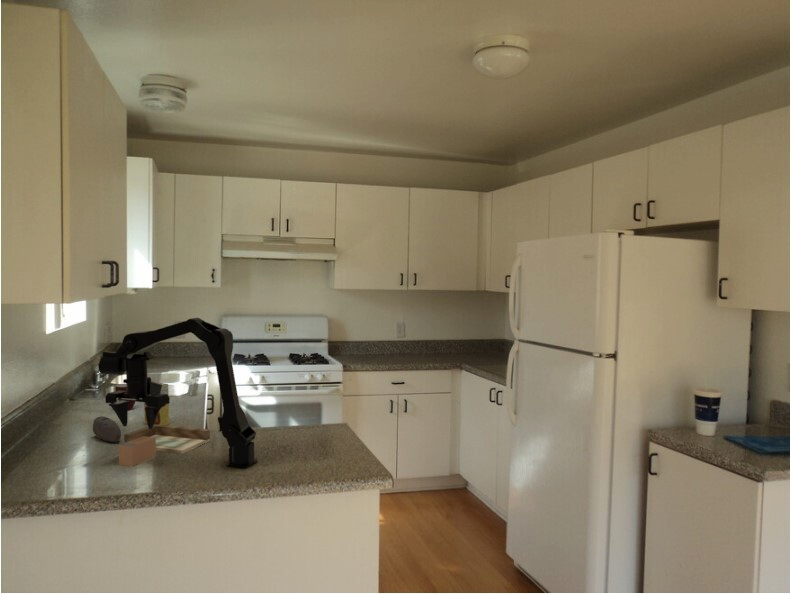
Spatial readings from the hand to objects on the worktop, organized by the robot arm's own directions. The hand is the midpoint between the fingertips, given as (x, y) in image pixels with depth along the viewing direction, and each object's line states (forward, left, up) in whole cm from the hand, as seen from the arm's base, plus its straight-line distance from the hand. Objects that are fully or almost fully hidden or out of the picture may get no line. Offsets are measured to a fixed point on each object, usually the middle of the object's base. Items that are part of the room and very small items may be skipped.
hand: (137, 427), depth 176 cm
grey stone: (+25, -15, -10) cm, 31 cm away
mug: (+53, -53, -10) cm, 76 cm away
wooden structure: (+3, -17, -10) cm, 20 cm away
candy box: (+24, -37, -10) cm, 45 cm away
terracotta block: (0, 0, -10) cm, 10 cm away
